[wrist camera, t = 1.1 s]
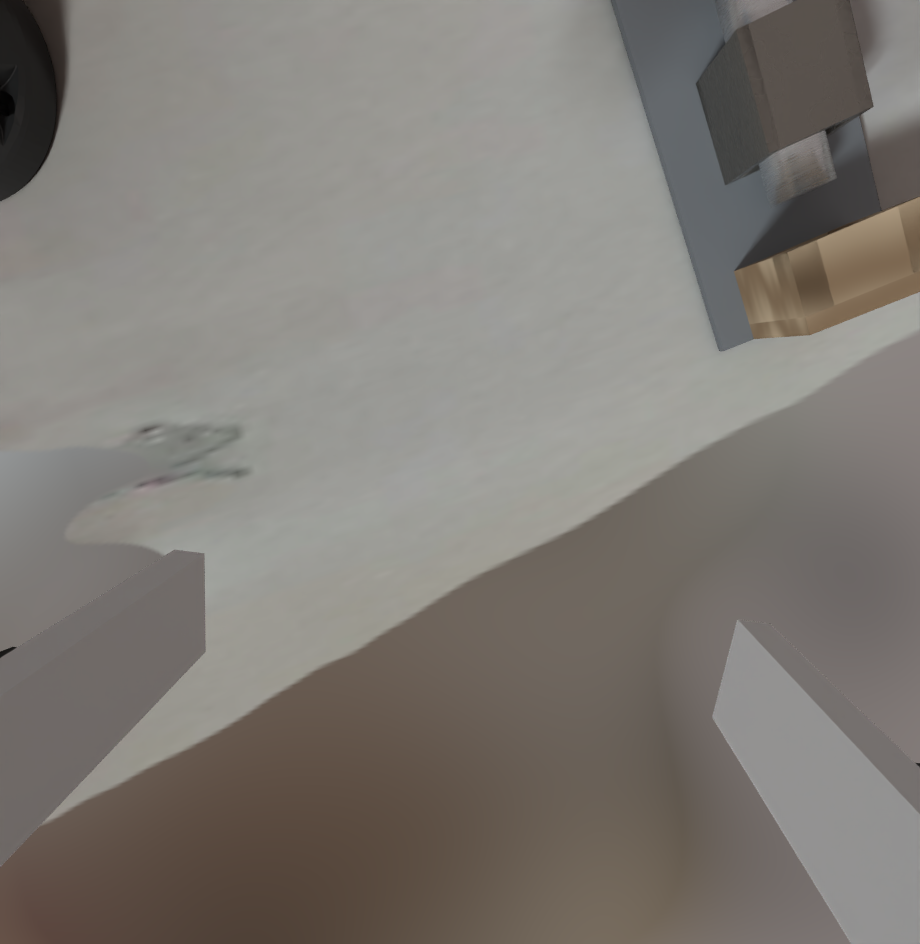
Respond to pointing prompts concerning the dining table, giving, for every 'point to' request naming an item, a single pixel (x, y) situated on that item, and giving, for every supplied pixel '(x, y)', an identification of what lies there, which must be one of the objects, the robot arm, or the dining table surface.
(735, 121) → the sleeve
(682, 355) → the dining table surface
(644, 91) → the base mat
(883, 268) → the socket block
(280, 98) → the dining table surface
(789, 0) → the sliding bolt
